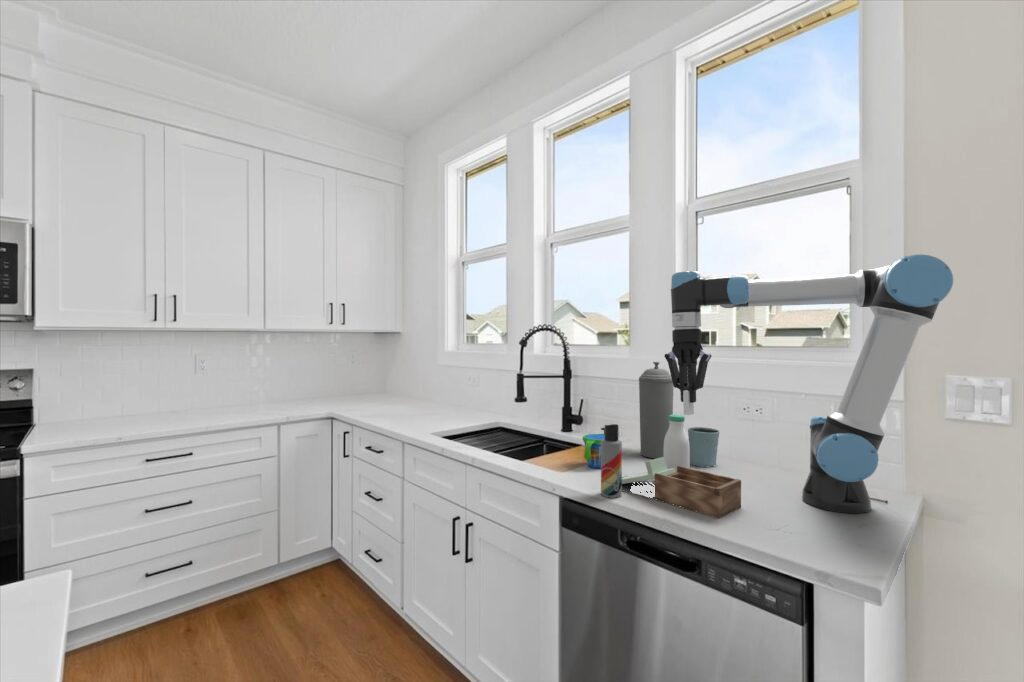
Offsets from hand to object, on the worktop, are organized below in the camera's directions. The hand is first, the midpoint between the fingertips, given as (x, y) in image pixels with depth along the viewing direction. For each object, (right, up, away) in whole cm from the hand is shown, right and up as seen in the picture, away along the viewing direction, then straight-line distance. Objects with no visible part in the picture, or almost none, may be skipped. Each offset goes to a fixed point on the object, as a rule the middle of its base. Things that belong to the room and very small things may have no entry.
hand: (688, 414), depth 133 cm
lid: (-10, -20, +8) cm, 24 cm away
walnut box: (+1, -23, -4) cm, 24 cm away
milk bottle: (+2, -23, +17) cm, 29 cm away
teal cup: (+18, -23, +36) cm, 46 cm away
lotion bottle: (-21, -23, +3) cm, 31 cm away
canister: (+5, -23, +47) cm, 52 cm away
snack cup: (-19, -23, +33) cm, 44 cm away
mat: (-11, -23, +10) cm, 28 cm away
